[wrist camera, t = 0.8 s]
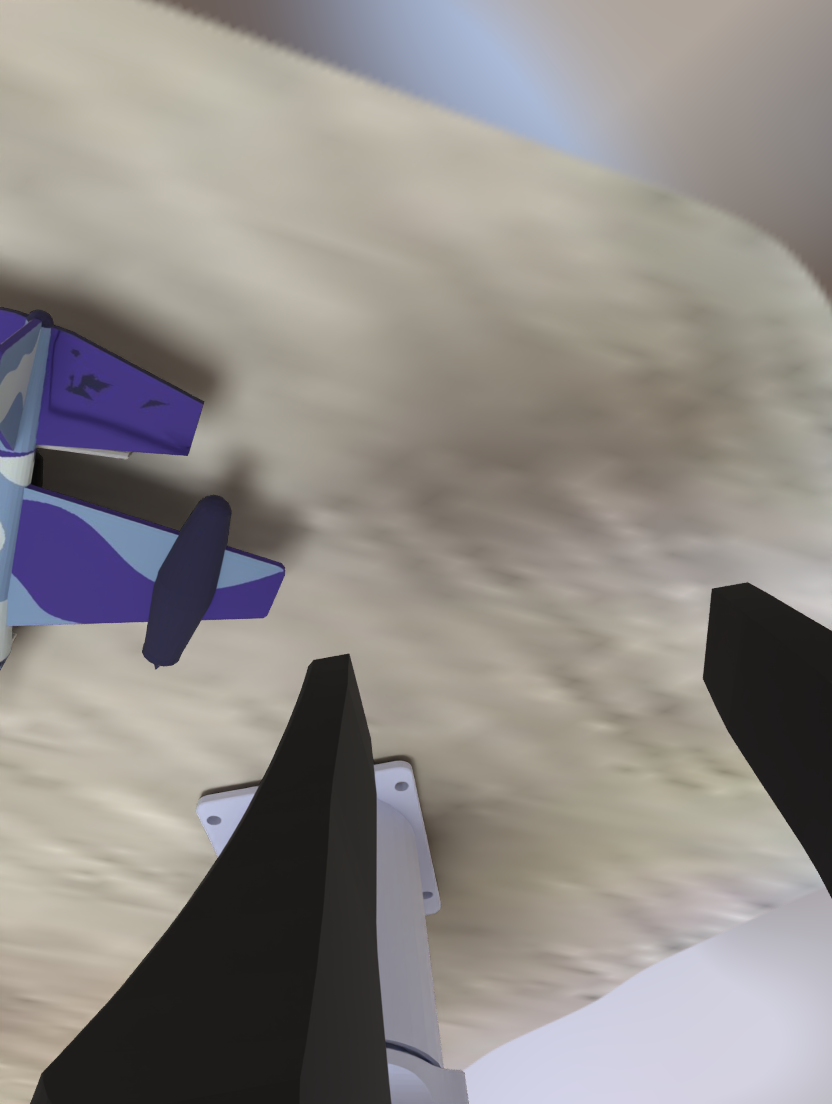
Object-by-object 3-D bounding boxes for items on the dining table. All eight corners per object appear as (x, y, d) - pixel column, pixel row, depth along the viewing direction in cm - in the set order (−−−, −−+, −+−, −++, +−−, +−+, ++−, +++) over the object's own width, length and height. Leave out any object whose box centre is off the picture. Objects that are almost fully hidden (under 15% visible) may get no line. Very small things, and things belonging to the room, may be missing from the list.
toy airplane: (-24, 746, 24) (-73, 838, 21) (-387, 360, 17) (-540, 416, 14) (343, 632, 24) (345, 710, 21) (127, 172, 16) (82, 189, 13)
